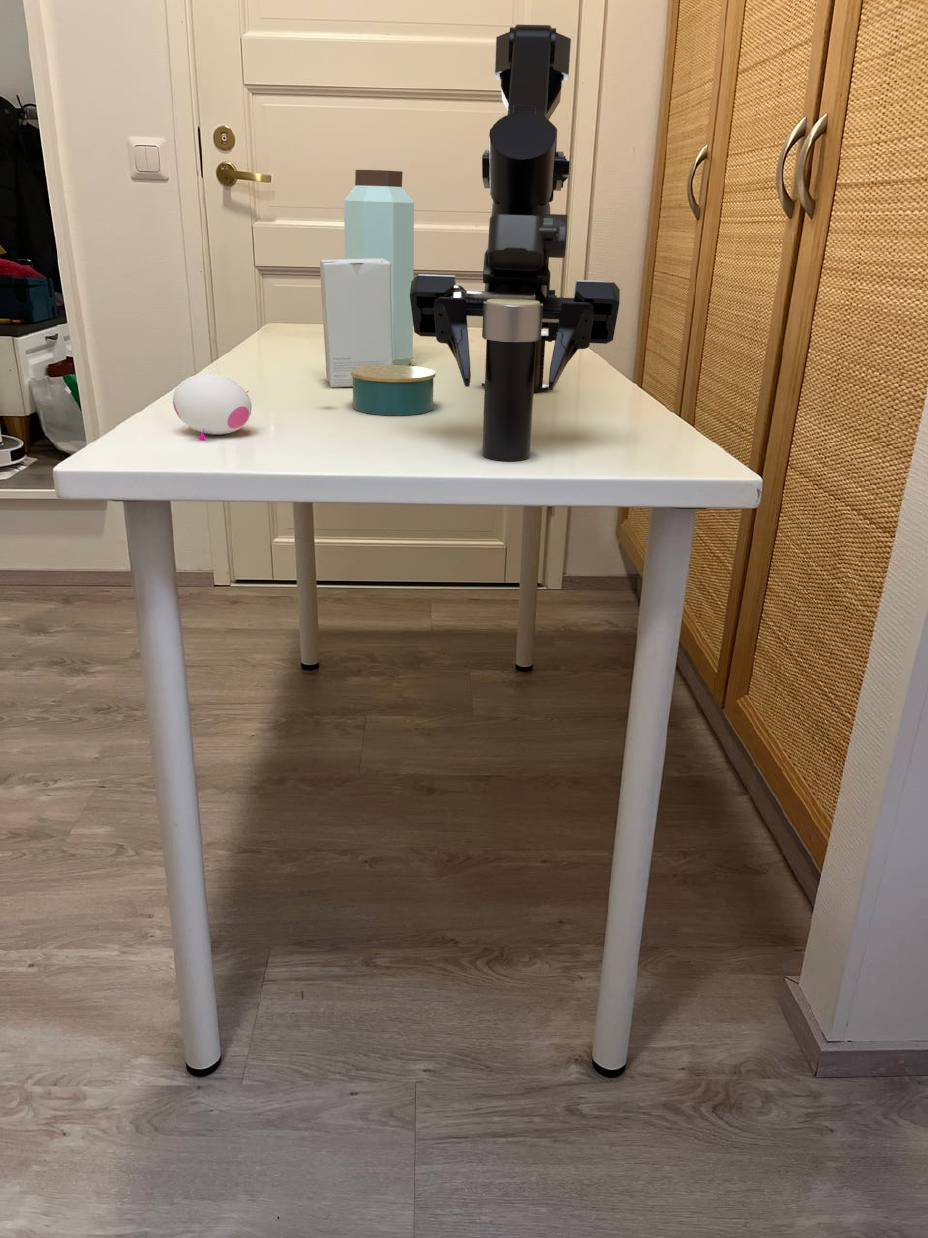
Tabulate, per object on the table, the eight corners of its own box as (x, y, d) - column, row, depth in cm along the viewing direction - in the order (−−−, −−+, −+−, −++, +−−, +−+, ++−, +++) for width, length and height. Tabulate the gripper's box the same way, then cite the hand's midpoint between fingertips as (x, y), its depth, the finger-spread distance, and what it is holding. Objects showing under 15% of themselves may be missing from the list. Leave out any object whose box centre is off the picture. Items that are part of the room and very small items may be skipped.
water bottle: (425, 361, 139) (427, 173, 129) (398, 371, 130) (399, 169, 120) (362, 356, 142) (360, 171, 132) (332, 365, 133) (328, 168, 123)
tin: (406, 396, 113) (406, 362, 112) (451, 411, 106) (452, 374, 105) (336, 403, 108) (335, 367, 106) (378, 419, 101) (378, 380, 99)
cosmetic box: (387, 379, 124) (386, 257, 118) (394, 387, 119) (394, 260, 113) (322, 380, 122) (319, 256, 116) (326, 388, 117) (323, 259, 111)
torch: (510, 446, 91) (518, 297, 86) (545, 458, 87) (555, 302, 82) (466, 452, 88) (471, 298, 83) (500, 465, 85) (508, 304, 79)
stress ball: (258, 465, 95) (272, 403, 96) (229, 433, 87) (244, 366, 88) (187, 456, 96) (202, 395, 97) (152, 424, 88) (168, 358, 89)
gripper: (413, 175, 83) (395, 321, 77) (628, 182, 82) (626, 330, 76) (422, 266, 93) (407, 401, 87) (613, 273, 92) (610, 410, 86)
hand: (508, 385), depth 84 cm, fingers open, 7 cm apart
